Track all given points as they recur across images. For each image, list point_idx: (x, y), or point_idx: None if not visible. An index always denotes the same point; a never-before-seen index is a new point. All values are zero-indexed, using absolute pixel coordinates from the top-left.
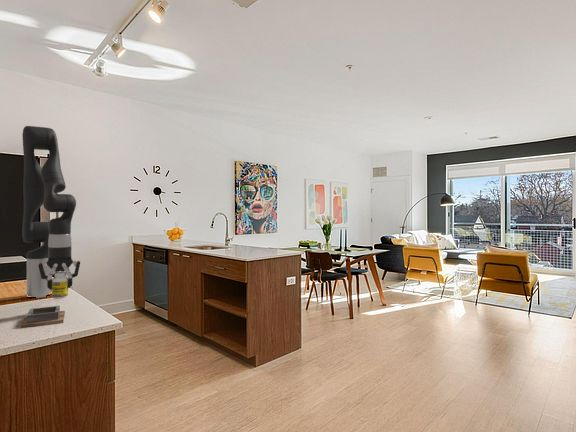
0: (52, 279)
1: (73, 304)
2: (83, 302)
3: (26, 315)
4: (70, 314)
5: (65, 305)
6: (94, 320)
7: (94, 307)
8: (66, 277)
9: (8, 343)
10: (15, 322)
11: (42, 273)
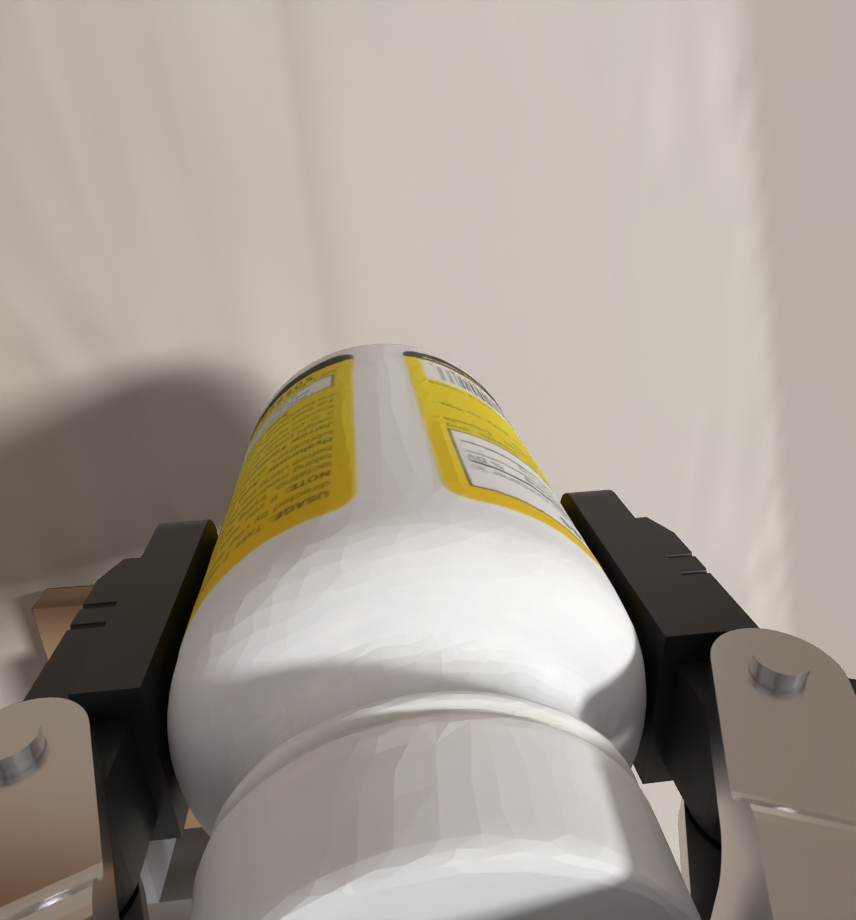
0: (190, 807)
1: (536, 132)
2: (681, 59)
3: (48, 624)
4: None
5: (424, 143)
6: (673, 832)
7: (757, 436)
8: (618, 751)
9: None
10: (4, 703)
11: None
